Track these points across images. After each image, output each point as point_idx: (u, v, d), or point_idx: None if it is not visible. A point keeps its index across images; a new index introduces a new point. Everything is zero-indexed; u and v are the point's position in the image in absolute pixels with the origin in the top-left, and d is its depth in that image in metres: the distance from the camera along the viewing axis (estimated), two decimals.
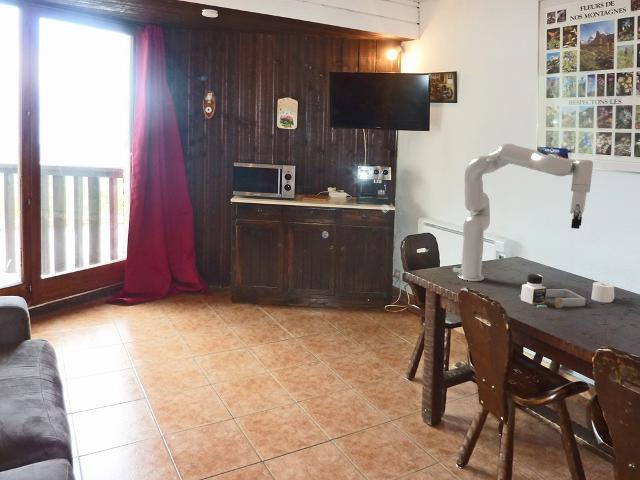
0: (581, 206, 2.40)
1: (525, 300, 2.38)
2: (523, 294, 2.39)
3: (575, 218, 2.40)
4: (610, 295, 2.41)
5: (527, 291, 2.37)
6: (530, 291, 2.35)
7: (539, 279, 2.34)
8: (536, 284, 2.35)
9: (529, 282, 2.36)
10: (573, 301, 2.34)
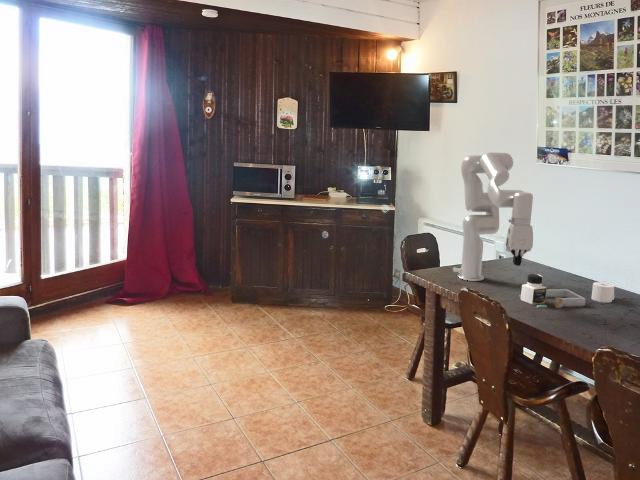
0: None
1: (525, 300, 2.38)
2: (523, 294, 2.39)
3: (521, 255, 2.34)
4: (610, 295, 2.41)
5: (527, 291, 2.37)
6: (530, 291, 2.35)
7: (539, 279, 2.34)
8: (536, 284, 2.35)
9: (529, 282, 2.36)
10: (573, 301, 2.34)
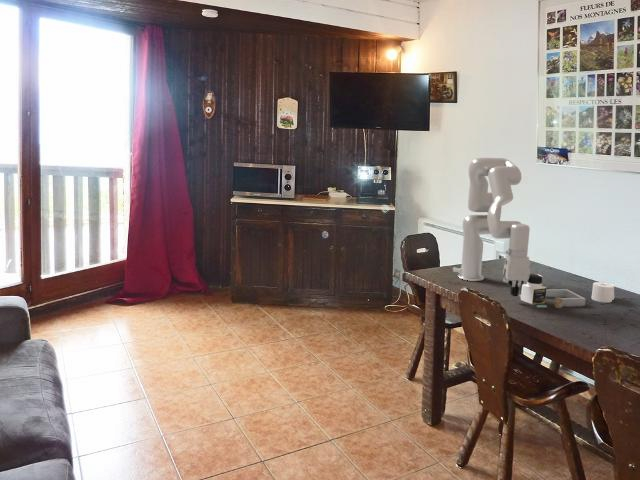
0: None
1: (525, 300, 2.38)
2: (523, 294, 2.39)
3: None
4: (610, 295, 2.41)
5: (527, 291, 2.37)
6: (530, 291, 2.35)
7: (539, 279, 2.34)
8: (536, 284, 2.35)
9: (529, 282, 2.36)
10: (573, 301, 2.34)
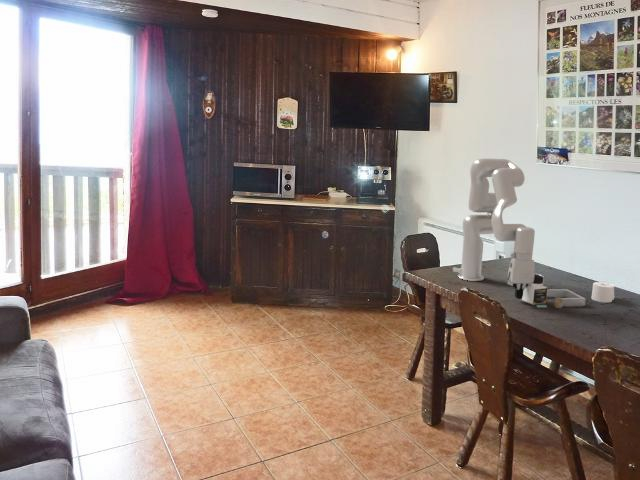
0: None
1: (526, 300, 2.38)
2: (524, 294, 2.39)
3: None
4: (610, 295, 2.41)
5: (528, 291, 2.37)
6: (530, 291, 2.35)
7: (540, 279, 2.34)
8: (537, 284, 2.35)
9: None
10: (573, 301, 2.34)
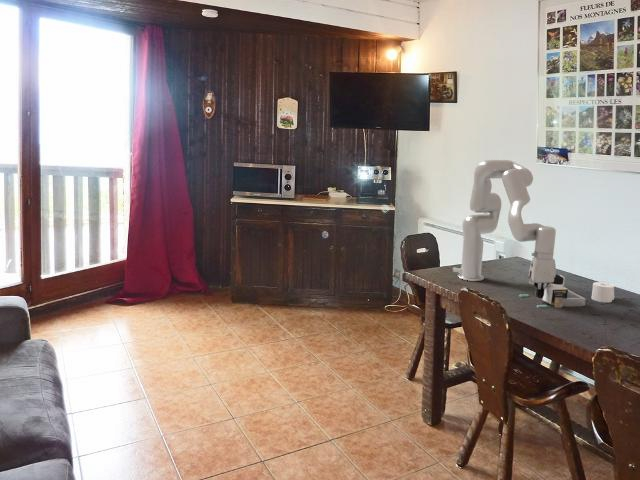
0: None
1: (545, 300, 2.39)
2: (544, 294, 2.40)
3: None
4: (610, 295, 2.41)
5: (547, 291, 2.38)
6: (549, 291, 2.36)
7: (559, 280, 2.34)
8: (556, 284, 2.35)
9: None
10: (573, 301, 2.34)
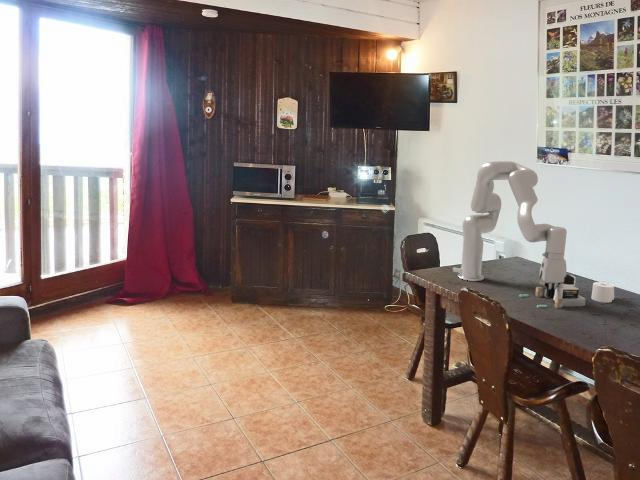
0: None
1: None
2: (555, 294, 2.41)
3: None
4: (610, 295, 2.41)
5: (558, 291, 2.38)
6: (560, 291, 2.37)
7: (570, 280, 2.35)
8: (567, 284, 2.35)
9: None
10: (573, 301, 2.34)
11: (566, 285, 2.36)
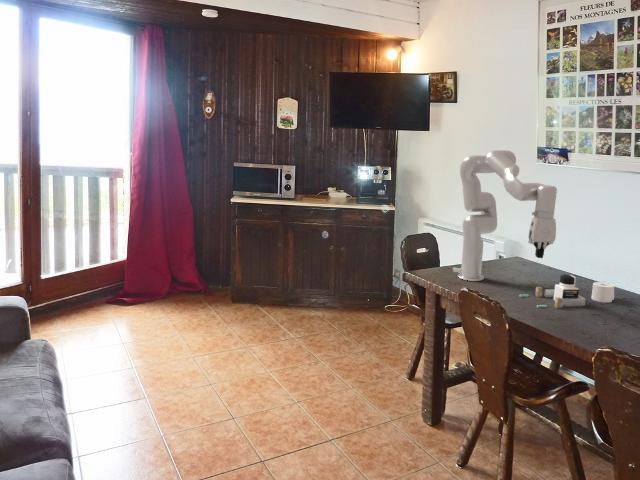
0: None
1: None
2: (555, 294, 2.41)
3: None
4: (610, 295, 2.41)
5: (558, 291, 2.38)
6: (560, 291, 2.37)
7: (570, 280, 2.35)
8: (567, 284, 2.35)
9: (560, 282, 2.38)
10: (573, 301, 2.34)
11: (566, 285, 2.36)
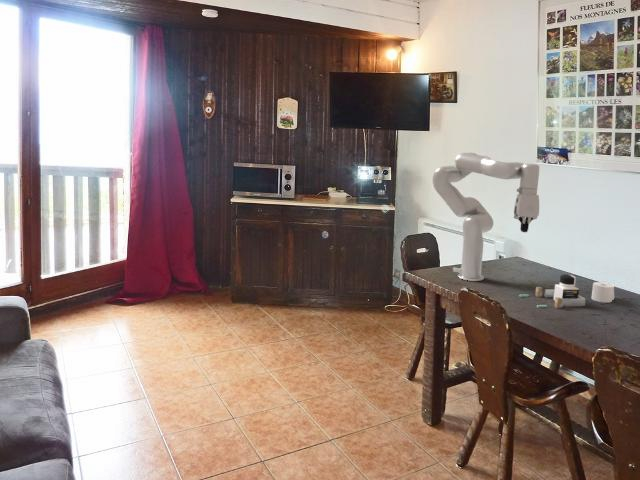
0: None
1: None
2: (555, 294, 2.41)
3: (528, 223, 2.52)
4: (610, 295, 2.41)
5: (558, 291, 2.38)
6: (560, 291, 2.37)
7: (570, 280, 2.35)
8: (567, 284, 2.35)
9: (560, 282, 2.38)
10: (573, 301, 2.34)
11: (566, 285, 2.36)
